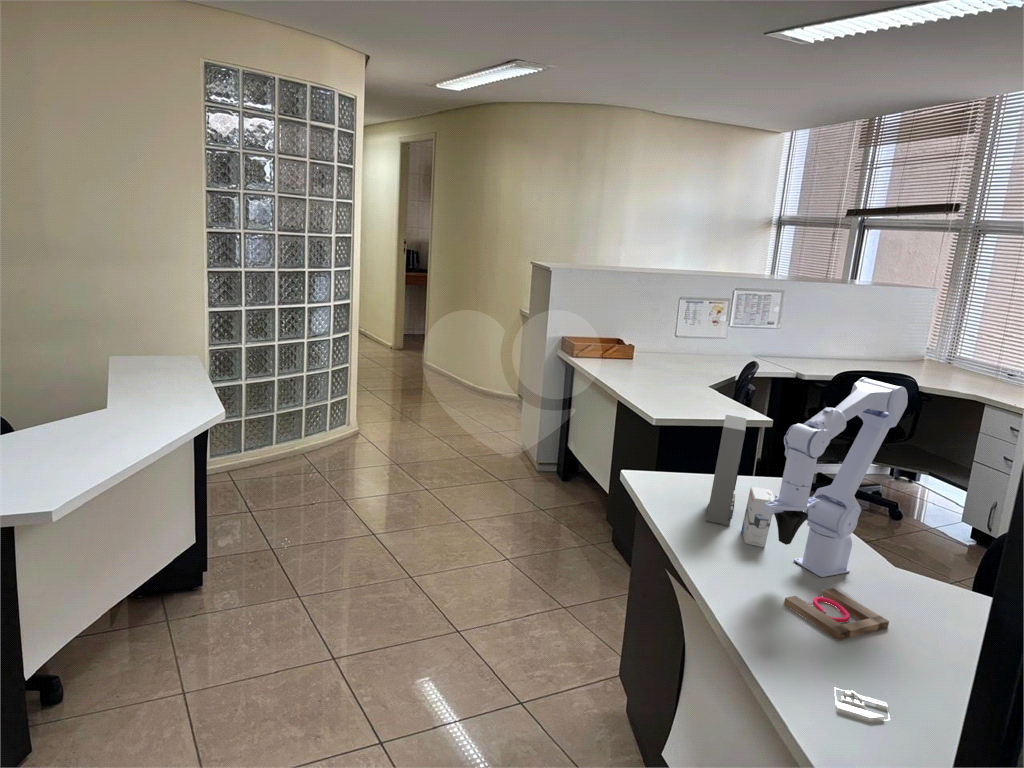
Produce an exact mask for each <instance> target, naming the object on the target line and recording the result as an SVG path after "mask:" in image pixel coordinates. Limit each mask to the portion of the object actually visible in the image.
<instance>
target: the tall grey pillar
mask: <svg viewBox="0 0 1024 768" xmlns="http://www.w3.org/2000/svg"><path fill="white" fill-rule="evenodd" d="M746 426H747V418H746V417H743V416H742V417H741V416H736V415H730V414H725V417H724V421H723V427H722V432H721V438H720V444H719V449H718V453H717V454H718V455H717V459H716V465H715V471H714V476H713V481H712V482H713V483H712V487H711V493H710V496H709V501H708V503H709V504H708V507H707V513H706V516H705V521H707V522H712V523H715V524H716V523H717V524H719V525H724V526H730V525H731V522H732V521H731V520H733V515H734V510H735V503H736V502H735V500H736V493H735V491H736V486H737V485H736V484H737V480H738V475H739V469H740V464H741V457H742V450H743V446H744V445H743V444H744V440H745V434H746V428H747V427H746Z"/></svg>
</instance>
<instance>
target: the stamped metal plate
mask: <svg viewBox="0 0 1024 768" xmlns="http://www.w3.org/2000/svg"><path fill="white" fill-rule="evenodd" d="M837 691H842V692H843V695H840V696H839V697H838V696H837ZM844 696H845V697H846V699H845V698H844ZM837 697H838V699H837ZM852 697H857V699H854V700H853V701H852ZM834 700H835V709H836V713H838V714H841V715H844V716H847V717H852V718H854V719H858V720H862V721H863V722H866V723H878V722H880V723H881V722H887V721H888V722H889V721H891V716H890V706H889V705H888V702H886V701H881V700H879V699H876V698H872V697H869V696H864V695H861V694H858V693H857V692H856V691H854V690H851V689H850V690H848V689H846V690H844V689H840V688H837V687H834ZM865 702H866V703H869V704H873V705H875V708H877V709H879V710H883V711H886V713H887V716H888V719H885V717H886V716H885V715H884V714H879V713H876V712H872V711H869V710H865V709H866V703H865Z"/></svg>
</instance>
